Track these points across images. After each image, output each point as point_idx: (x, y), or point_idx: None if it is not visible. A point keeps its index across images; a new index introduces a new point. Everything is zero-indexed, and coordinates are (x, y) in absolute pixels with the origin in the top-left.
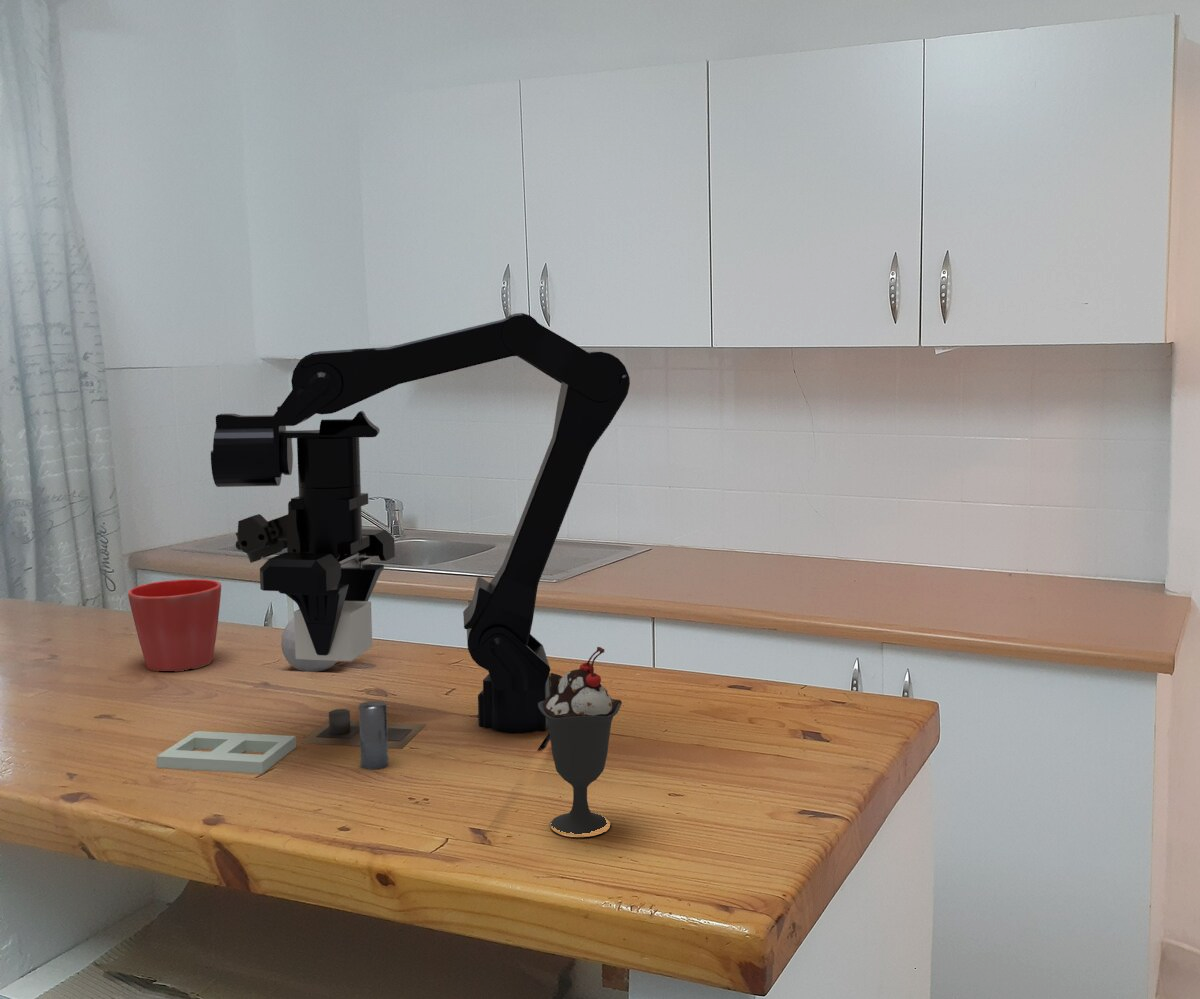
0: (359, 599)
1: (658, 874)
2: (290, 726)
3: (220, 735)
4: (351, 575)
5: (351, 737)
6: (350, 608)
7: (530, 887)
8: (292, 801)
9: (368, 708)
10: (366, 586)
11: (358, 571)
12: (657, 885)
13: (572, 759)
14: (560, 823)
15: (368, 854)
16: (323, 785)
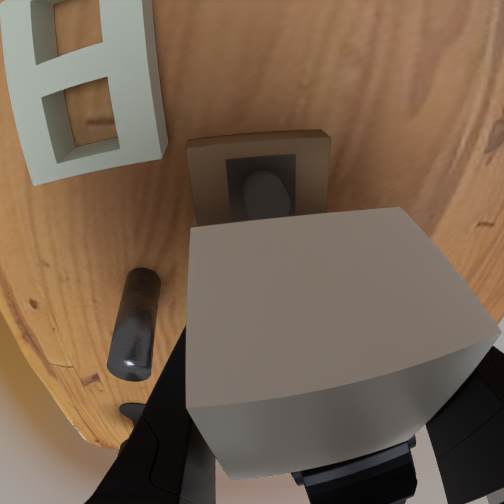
0: (433, 424)
1: (108, 431)
2: (354, 40)
3: (121, 9)
4: (484, 475)
5: (238, 219)
6: (312, 462)
7: (57, 402)
8: (45, 226)
9: (111, 370)
10: (441, 465)
11: (476, 493)
12: (98, 430)
13: None
14: (128, 409)
15: (19, 334)
16: (102, 232)
